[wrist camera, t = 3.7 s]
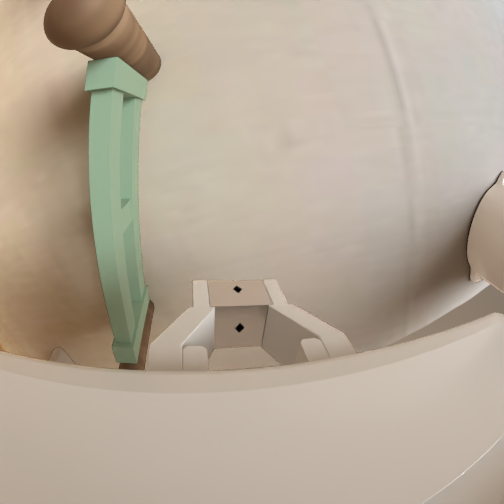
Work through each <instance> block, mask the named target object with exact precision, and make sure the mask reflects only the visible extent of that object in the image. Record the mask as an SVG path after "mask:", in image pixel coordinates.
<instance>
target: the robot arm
mask: <svg viewBox="0 0 504 504" xmlns="http://www.w3.org/2000/svg"><path fill="white" fill-rule="evenodd" d="M467 257H468V262H469V264H470V267H471V274H470V279H471V281H473V282H475V283H476V282H479V281H481V280H483V279H484V280H485V281H487V282H488V283H490V284H491V285H493V286H494V287H495V288H497V289H498V290H500V291H501V292H502V293H504V171H503V172H502V173H501V175H500V176H499V178H498V180H497V182H496V184H495V185H494V186H492V187H491V188H490V189H489V190H488V191H487V193H486V194H485V195H484V197H483V199H482V200H481V202H480V204H479V206H478V208H477V211H476V213H475V216H474V219H473V222H472V225H471V228H470V233H469V238H468V245H467ZM192 304H193V307H188V308H187V309H186V310H185V311H184V312H183V313H182V314H181V315H180V316H179V317H178V318H177V319H176V320H175V321H174V322H173V323H172V324H171V325H170V326H169V327H167V328H166V329H165V330H164V331H163V332H162V333H161V334H160V335H159V336H158V337H157V338H156V339H155V340H154V341H153V342H152V343H151V344H150V346H149V355H148V364H147V371H144V370H125V369H111V368H100V367H90V366H81V365H73V364H66V363H59V362H53V361H47V360H41V359H36V358H31V357H26V356H21V355H16V354H12V353H7V352H3V351H0V504H504V315H503V314H500V313H491V314H489V315H487V316H484V317H482V318H479V319H476V320H474V321H471V322H468V323H466V324H463V325H460V326H457V327H454V328H451V329H448V330H445V331H442V332H439V333H436V334H432V335H429V336H426V337H422V338H419V339H415V340H411V341H408V342H404V343H400V344H397V345H392V346H388V347H384V348H380V349H375V350H371V351H366V352H361V353H357V352H356V351H355V349H354V348H353V346H352V345H351V343H350V341H349V340H348V338H347V337H346V335H345V334H344V333H343V332H341V331H339V330H337V329H336V328H334V327H332V326H330V325H328V324H327V323H325V322H323V321H321V320H320V319H318V318H316V317H314V316H312V315H311V314H309V313H307V312H305V311H304V310H302V309H300V308H298V307H297V306H295V305H293V304H288V302H287V300H286V298H285V297H284V295H283V293H282V291H281V289H280V287H279V285H278V283H277V281H276V280H275V279H263V280H240V281H235V280H192ZM252 346H262V348H263V349H264V350H265V351H266V352H267V353H269V354H270V355H271V356H272V357H273V358H274V359H275V360H276V361H277V362H278V363H280V364H281V365H280V366H270V367H260V368H247V369H232V370H212V371H209V363H208V358H209V357H210V355H211V354H212V352H213V350H214V349H216V348H231V347H252Z"/></svg>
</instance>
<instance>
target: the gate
mask: <svg viewBox="0 0 504 504" xmlns="http://www.w3.org/2000/svg"><path fill="white" fill-rule="evenodd" d="M147 82H148V80H147V79H145V78H144V77H143V76H142V75H140V74H139V73H138V72H137V71H135V70H134V69H133V68H132V67H130V66H129V65H128V64H126V63H125V62H124V61H123V60H121V59H120V58H119V57H112V58H104V59H98V60H92V61H88V66H87V73H86V81H85V91H88V92H91V104H90V119H89V185H90V201H91V213H92V224H93V232H94V240H95V248H96V254H97V261H98V267H99V273H100V278H101V283H102V288H103V293H104V298H105V303H106V307H107V311H108V315H109V319H110V323H111V327H112V331H113V335H114V340H113V344H112V350H113V353H114V356H115V359H116V362H120V363H134V364H137V361H138V355H139V350H140V344H141V339H142V333H143V328H144V323H145V318H146V313H147V309H148V304H149V292H148V285H144V276H143V266H142V254H141V241H140V224H139V195H138V160H139V131H140V115H141V102H142V100H146V91H147Z"/></svg>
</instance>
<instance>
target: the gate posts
mask: <svg viewBox="0 0 504 504" xmlns="http://www.w3.org/2000/svg"><path fill="white" fill-rule="evenodd" d="M44 31H45V34H46V36H47V38H48V39H49V40H50V42H51V43H53V44H54V45H55V46H57V47H59V48H63V49H67V50H77V51H79V52H80V53H82V54H84V55H86V56H88V57H90V58H92V59H94V60H98V59H104V58H112V57H119V58H120V59H121V60H123V61H124V62H125V63H126V64H128V65H129V66H130V67H132V68H133V69H134V70H135V71H137V72H138V73H139V74H140V75H142V76H143V77H144V78H145V79H147V80H148V81H149V80H150V79H152V78H153V77H154V76H155V75H156V74H157V73H158V71H159V69H160V66H161V59H160V56H159V55H158V53H157V52H156V50H155V48H154V47H153V45H152V44H151V42H150V41H149V39H148V37H147V36H146V34H145V33H144V31H143V30H142V28H141V26H140V25H139V23H138V22H137V20H136V19H135V17H134V16H133V14H132V12H131V11H130V9H129V8H128V6H127V5H126V0H52V1H51V2H50V4H49V6H48V8H47V10H46V13H45V16H44ZM153 312H154V304H153V302H152V301H151V300H149V304H148V309H147V313H146V318H145V323H144V328H143V333H142V339H141V344H140V350H139V355H138V361H137V364H134V363H120V366H119V369H125V370H144V369H145V362H146V355H147V348H148V341H149V335H150V329H151V323H152V317H153Z"/></svg>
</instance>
